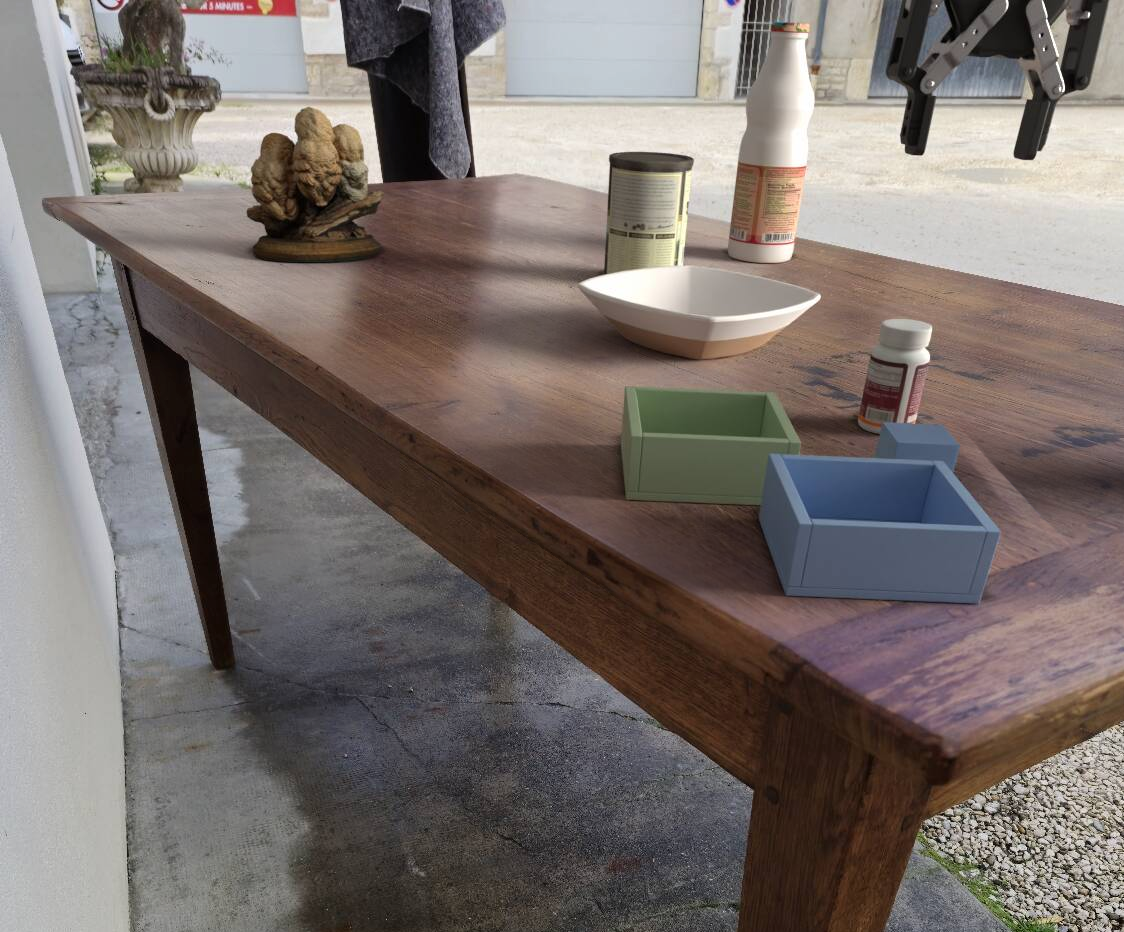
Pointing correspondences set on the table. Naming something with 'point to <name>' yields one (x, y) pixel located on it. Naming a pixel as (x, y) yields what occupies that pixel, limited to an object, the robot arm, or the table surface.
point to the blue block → (917, 443)
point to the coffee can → (646, 210)
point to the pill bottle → (895, 374)
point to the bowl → (696, 308)
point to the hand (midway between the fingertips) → (969, 156)
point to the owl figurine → (313, 194)
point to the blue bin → (875, 529)
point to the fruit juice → (773, 152)
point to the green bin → (701, 444)
